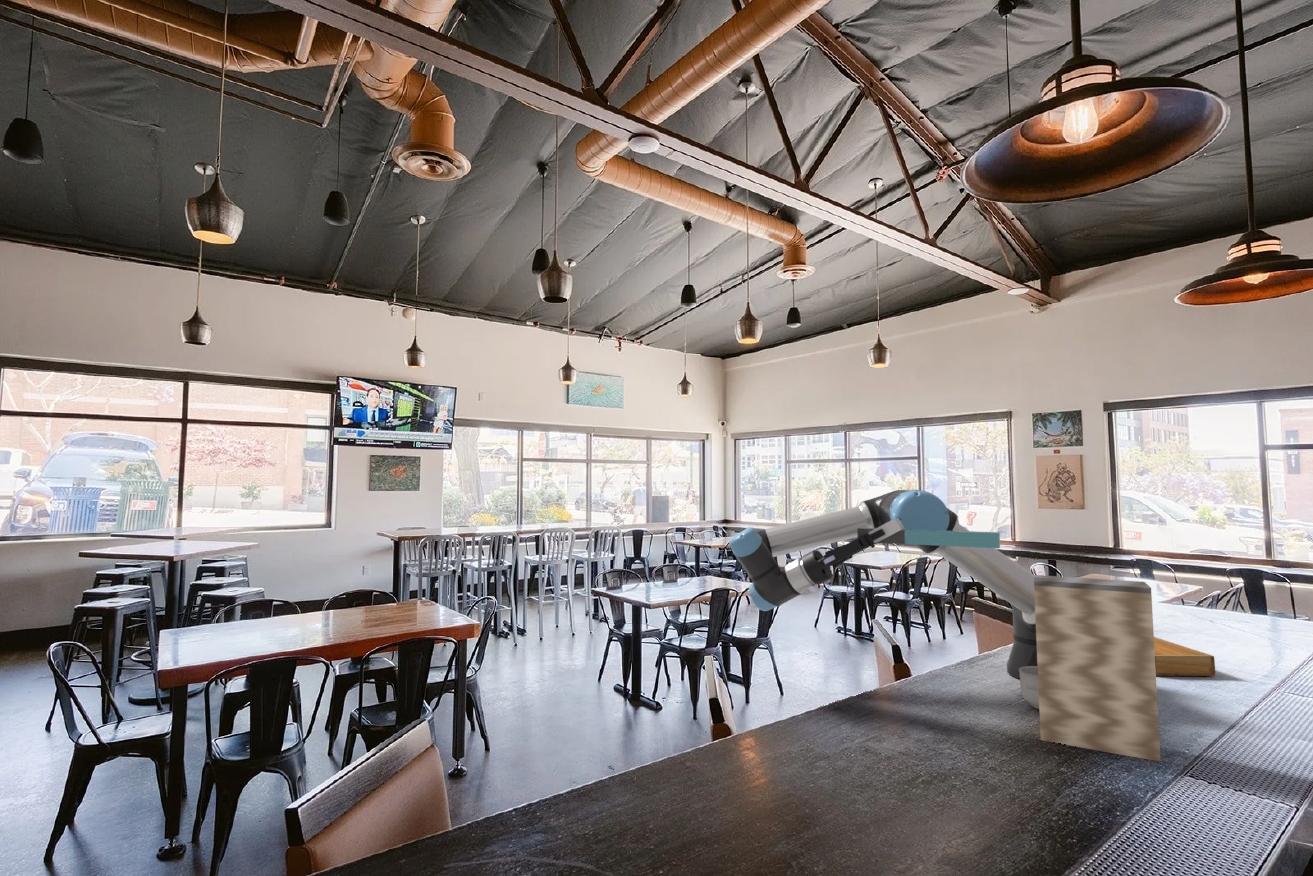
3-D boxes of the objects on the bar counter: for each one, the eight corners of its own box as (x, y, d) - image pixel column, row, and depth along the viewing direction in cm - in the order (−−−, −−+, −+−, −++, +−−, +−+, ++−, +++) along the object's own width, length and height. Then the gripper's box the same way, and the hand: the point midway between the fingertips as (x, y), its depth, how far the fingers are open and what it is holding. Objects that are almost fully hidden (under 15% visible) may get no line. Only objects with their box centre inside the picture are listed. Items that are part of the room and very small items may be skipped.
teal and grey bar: (857, 541, 143) (857, 528, 143) (860, 540, 145) (860, 527, 145) (999, 548, 128) (998, 533, 128) (1000, 547, 131) (999, 532, 131)
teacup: (1021, 711, 136) (1019, 673, 136) (1019, 696, 145) (1017, 660, 146) (1099, 723, 129) (1098, 683, 130) (1092, 706, 139) (1090, 669, 139)
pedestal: (1040, 740, 121) (1033, 580, 123) (1040, 726, 128) (1034, 574, 130) (1160, 761, 111) (1151, 588, 114) (1153, 745, 118) (1144, 581, 120)
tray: (1079, 646, 190) (1078, 627, 191) (1131, 647, 189) (1130, 628, 190) (1152, 678, 160) (1151, 655, 160) (1216, 679, 159) (1214, 656, 159)
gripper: (827, 581, 155) (915, 536, 145) (807, 591, 141) (902, 542, 132) (811, 553, 157) (897, 507, 148) (790, 560, 144) (882, 510, 134)
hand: (899, 523), depth 140 cm, fingers closed on teal and grey bar, 3 cm apart
